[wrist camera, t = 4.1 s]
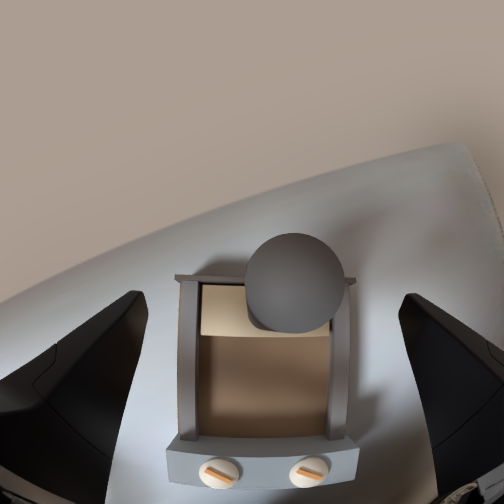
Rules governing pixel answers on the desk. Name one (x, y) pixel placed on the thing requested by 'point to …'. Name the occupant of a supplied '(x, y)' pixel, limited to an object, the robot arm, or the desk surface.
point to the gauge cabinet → (261, 462)
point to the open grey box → (259, 376)
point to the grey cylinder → (278, 292)
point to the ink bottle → (455, 495)
